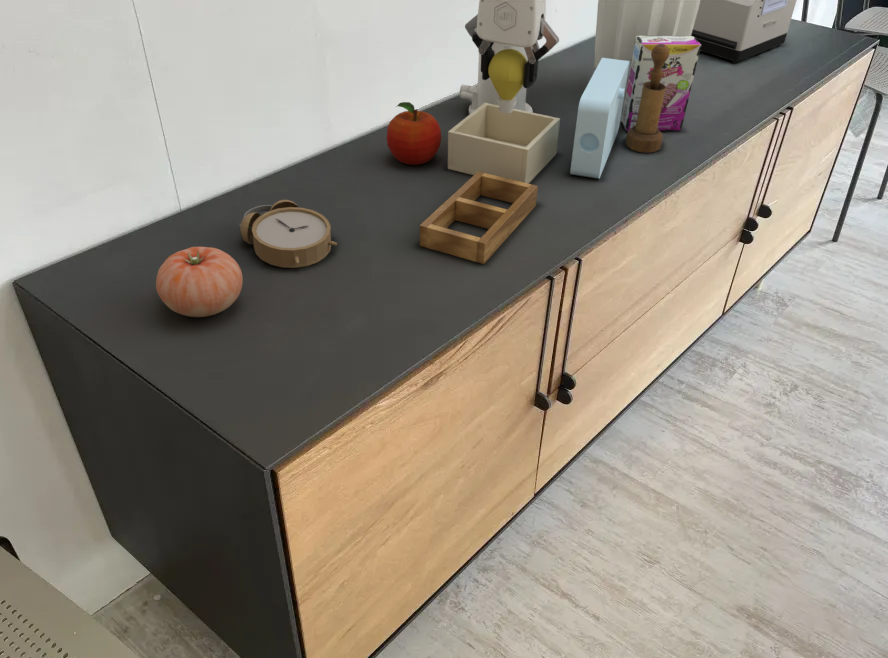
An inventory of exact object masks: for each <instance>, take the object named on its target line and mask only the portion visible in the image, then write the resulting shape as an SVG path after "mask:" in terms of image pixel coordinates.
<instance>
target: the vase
mask: <svg viewBox="0 0 888 658" xmlns="http://www.w3.org/2000/svg"><path fill="white" fill-rule="evenodd" d="M699 4H700V0H597V11H596V26H595V41H594V59H593V69H594V71H595V70H596V68H597V66H598V64H599V62H600V60H601V59H602V58H609V59H617V60H625V61H630V65H631V59H632V55H633V49H634V43H635V38H636V36H691V34H692V30H693V27H694V23H695V19H696V16H697V12H698V8H699ZM630 65H629V71H630ZM629 71H628V77H629ZM628 77H627V83H628ZM626 88H627V84H626ZM625 93H626V90H625ZM624 99H625V96H624ZM623 104H624V102H623Z"/></svg>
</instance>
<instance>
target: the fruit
mask: <svg viewBox="0 0 888 658" xmlns="http://www.w3.org/2000/svg"><path fill="white" fill-rule="evenodd" d="M396 107H400V108H403V109H404V111H402V112H399V113H398V114H396V115H395V116H394V117H393V118H392V119H391V120H390V121H389V123H388V126H387V130H386V142H387V148H388V150H389V151H390V153H391V155H392V157H394V158H395V159H396V160H397V161H399V162H400V163H402V164H405V165H410V166H418V165H423V164H426V163H428V162H429V161H431V160H432V159H433V158H434V157H435V156H436V154H437V153H438V151H439V149H440V147H441V143H442V129H441V126H440V125H439V122H438V120H437V119H436V118H435V117H434V116H433V115H432V114H430V113H428V112H426V111H422V110H418V109H415V105H414V104H413V103H411V102H410V101H402V102H400V103H398V104H397V105H396V106H395V108H396Z"/></svg>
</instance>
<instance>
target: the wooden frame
mask: <svg viewBox="0 0 888 658" xmlns="http://www.w3.org/2000/svg"><path fill="white" fill-rule="evenodd" d="M538 189H539V186H538V185H536V184H531V183H529V184H528V183H524V182H520V181H516V180H512V179H507V178H503V177H499V176H495V175H491V174H487V173H483V172H479V171H478V172H477V173H476V174H475V175H472V176H471V177H470V178H469V179H468V180H467V181H466V182H465V183H464V184H463V185H462V186H461V187H459V188H458V189H457V190H456V191H455V192H454V193H453V194H452V195H450V197H449V198H447V200H445V201H444V202H443V203H442V204H441V205H440V206H439V207H438V208H437V209H436V210H434V212H433V213H431V214H430V215H429V216H428V217H427V218H426V219H425V220H424V221H423V222H421V224H419V246H420V247H423V248H427V249H430V250H433V251H437V252H440V253H443V254H446V255H450V256H454V257H456V258H461V259H464V260H468V261H471V262H474V263H478V264H482V265H484V264H485V263H486V262H487V261H488V260H489V259H490V258H491V257H492V256H493V255H494V253H496V251H497V250H498V249H499V248H500V247H501V246H502V245H503V244H504V242H505V241H506V240H508V238H509V237H510V235H511V234H512V233H513V232H514V231H515V230H516V229H517V228H518V227H519V225H520V224H522V222H523V221H524V220H525V218H526V217H527V216H529V214H530V213H531V212H532V211H533V210H534V208H535V207H536V206H537V201H538V200H537V199H538ZM481 196H482V197H486V198H490V199H494V200H498V201H502V202H506V203H510V204H511V205H510V206H509V207H508V208H503V207H499V206H495V205H492V204H487V203H484V202H480V201H476V200H477V199H478V198H479V197H481ZM455 221H457V222H460V223H464V224H468V225H471V226H475V227H479V228H482V229H487V231H486V232H484V234H483V235H482V236H481V237H479V236H475V235H473V234H469V233H466V232H461V231H459V230H455V229H450V228H449V227H450V226H451V225H452V224H453V223H454V222H455Z"/></svg>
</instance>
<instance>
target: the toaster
mask: <svg viewBox="0 0 888 658" xmlns="http://www.w3.org/2000/svg"><path fill="white" fill-rule="evenodd" d="M796 4H797V0H700V4H699V8H698V12H697V16H696V19H695V23H694V27H693V30H692V34H691V36H694V37H695V38H696V40H697V41H698V42H699V43H700V44H701V48H700V52H704V53H707V54H710V55H714V56H717V57H719V58H722V59H726V60H730V61H731V63H733V64H737V63H738V62H741V61H744V60H746V59H748V58H751V57H753V56H755V55H758V54H760V53H763V52H766V51H768V50H770V49H773V48H775V47H779V46H780V45H782V44H785V42H786V38H787V36H788V31H789V28H790V25H791V22H792V18H793V14H794V12H795V11H794V10H795V8H796Z"/></svg>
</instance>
